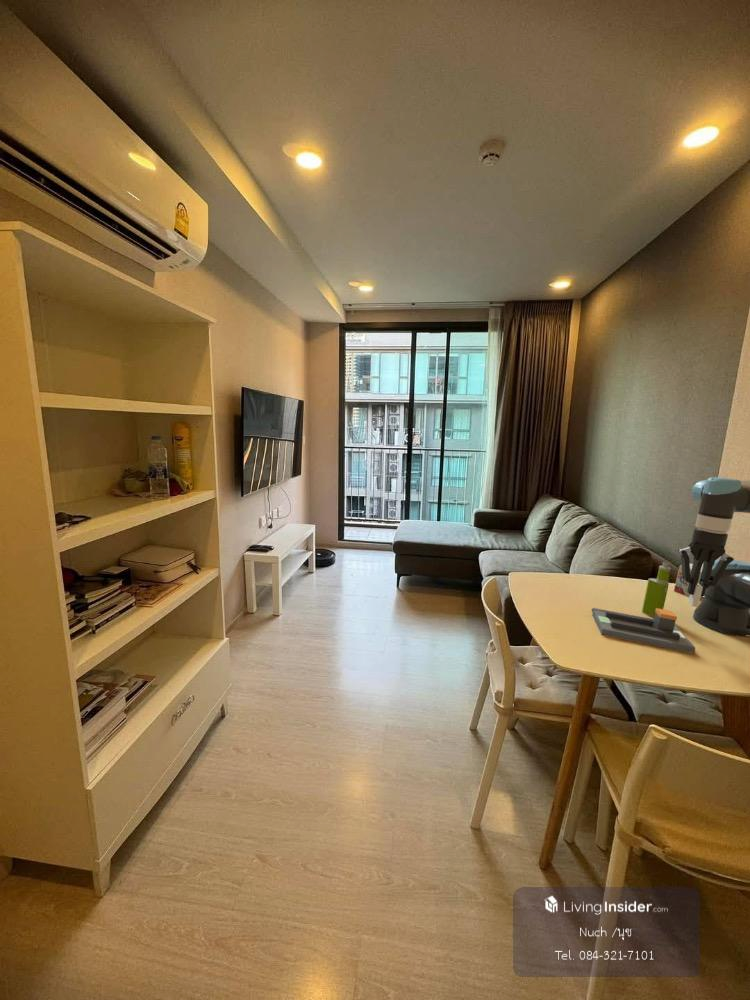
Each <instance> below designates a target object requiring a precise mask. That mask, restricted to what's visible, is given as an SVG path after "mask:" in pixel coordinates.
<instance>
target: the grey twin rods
mask: <svg viewBox="0 0 750 1000" xmlns="http://www.w3.org/2000/svg"><path fill="white" fill-rule="evenodd" d="M593 610H597V611H602V612H605V611H610V612H615V613H621V614H626V615H631V616H637V617H642V618H647V619H653V620H654V618H652V617H651V618H649V617H646V616H645V617H644V616H639V615H633V614H628V613H623V612H618V611H613V610H607V609H602V608H596V607H592V608H591V612H592V613H593Z"/></svg>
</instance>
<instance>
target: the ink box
mask: <svg viewBox="0 0 750 1000" xmlns="http://www.w3.org/2000/svg"><path fill="white" fill-rule="evenodd" d="M692 566H693V563H691V562H690V574H691V570H692ZM702 568H703V566H702V567H701V571H700V575H699V579H698V583H697V584H700V583H699V581H700V577H701V573H702ZM688 586H689V582H687V581H685V580H684V579H683V578H682V564H681V565H679V568H678V572H677V576H676V580H675V585H674V589H673V592H676V593H678V594H681V595H684V596H685V597H690V594H689V593H688V592H687V590H688ZM705 593H706V591H705ZM704 596H705V595H704ZM702 598H703V596H701V597H700V599H702ZM703 599H704V598H703Z"/></svg>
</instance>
